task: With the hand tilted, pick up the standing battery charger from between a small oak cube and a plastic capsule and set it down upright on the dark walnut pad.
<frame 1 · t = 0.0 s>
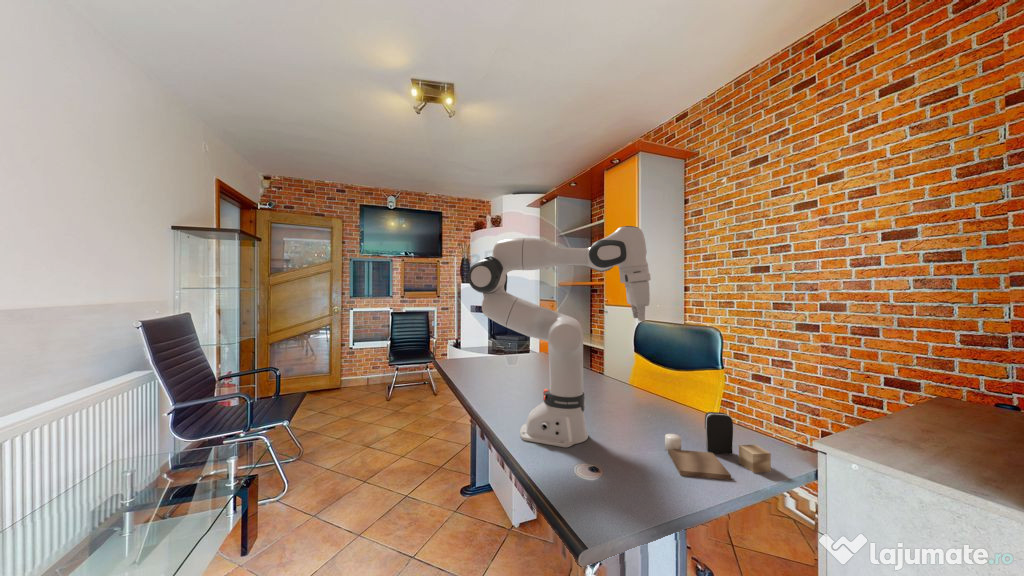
hand: (639, 319, 108), 39 cm above the table, tool pointing down, fingers open, 8 cm apart
oak cube: (754, 467, 92), on the table
plastic capsule: (673, 450, 102), on the table
battery charger: (718, 451, 101), on the table
walnut pad: (697, 465, 93), on the table
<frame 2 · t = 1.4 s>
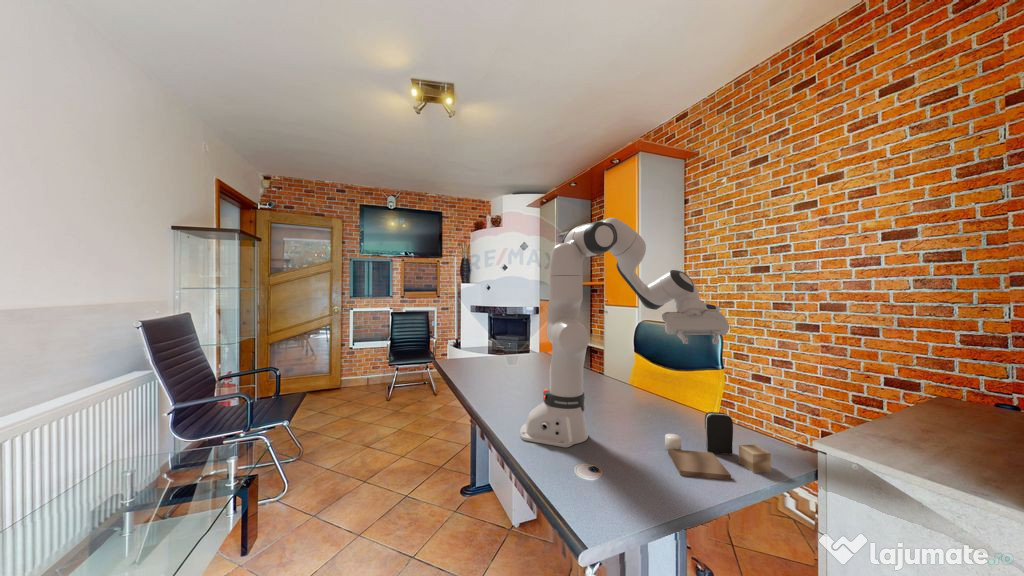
hand: (700, 342, 115), 30 cm above the table, tool tilted 45°, fingers open, 8 cm apart
nothing on the table moved.
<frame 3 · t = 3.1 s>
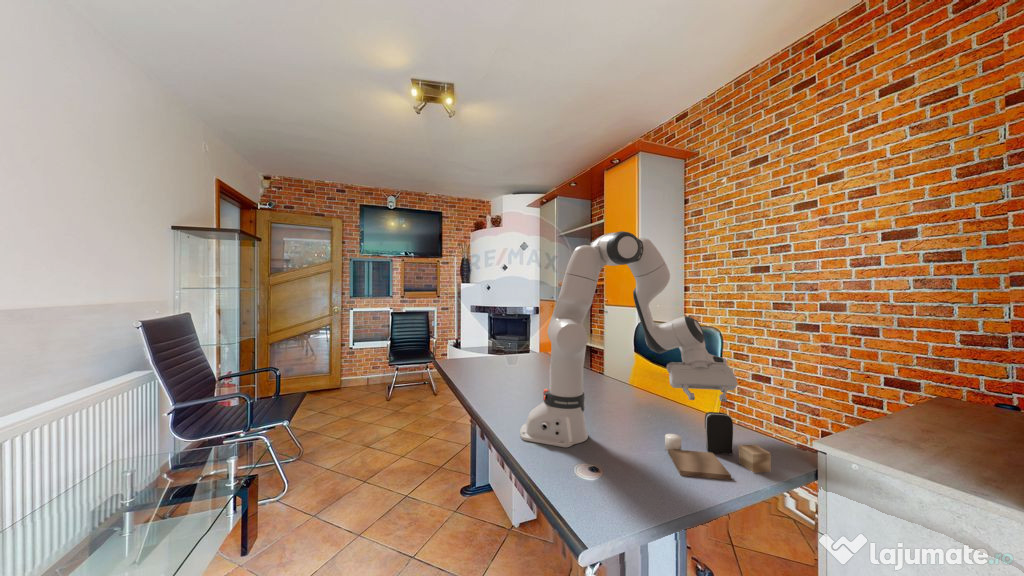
hand: (707, 400, 109), 13 cm above the table, tool tilted 45°, fingers open, 8 cm apart
nothing on the table moved.
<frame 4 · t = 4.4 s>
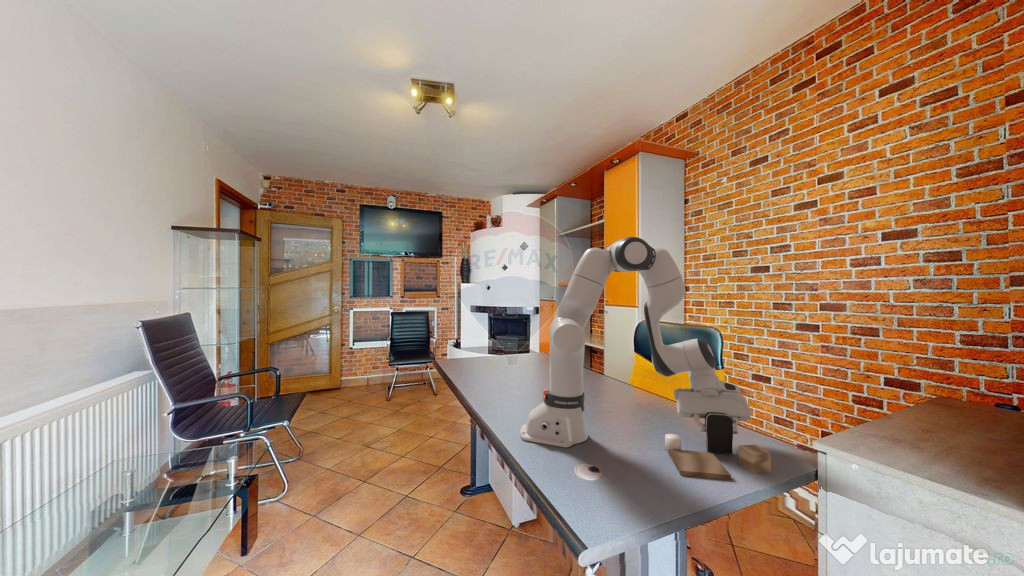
hand: (718, 432, 101), 6 cm above the table, tool tilted 45°, fingers closed on battery charger, 7 cm apart
battery charger: (718, 451, 101), on the table, touching gripper
everything else where it was.
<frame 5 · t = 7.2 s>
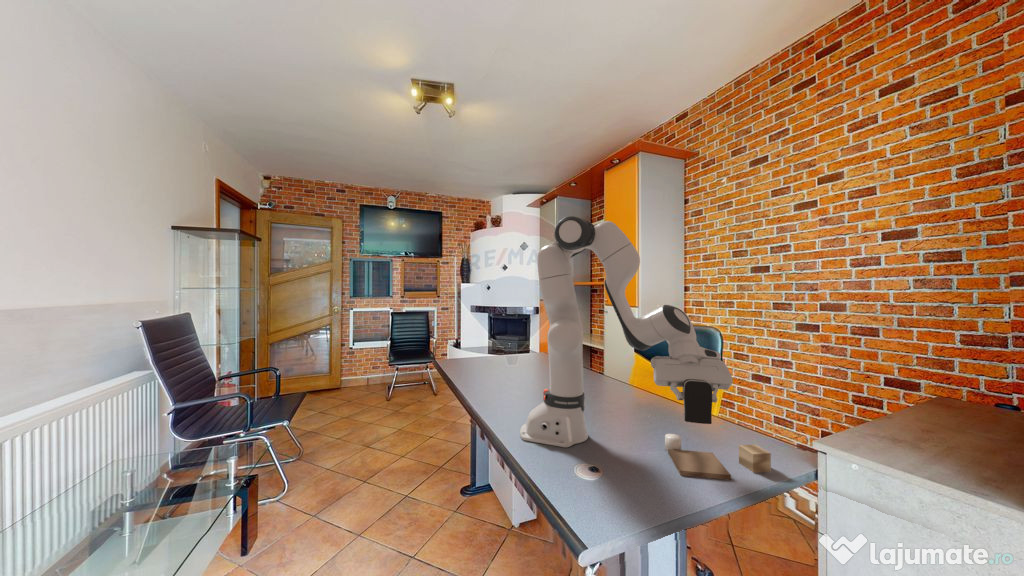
hand: (697, 400, 93), 18 cm above the table, tool tilted 45°, fingers closed on battery charger, 7 cm apart
battery charger: (696, 422, 93), point 12 cm above the table, touching gripper
everything else where it was.
when the fingers open (8 cm above the table, at t = 9.6 s): battery charger drops 1 cm, resting on walnut pad.
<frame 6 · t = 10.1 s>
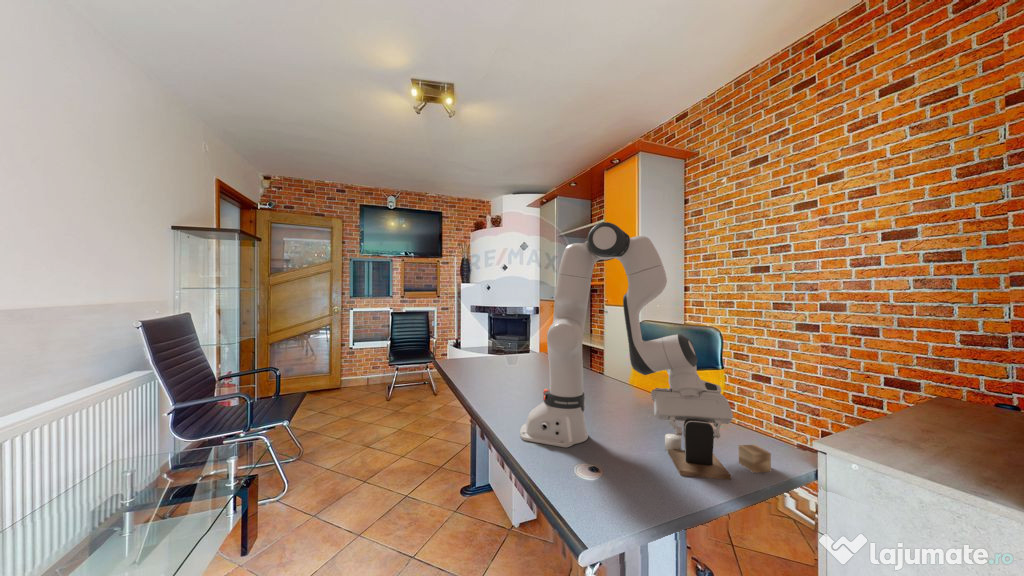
hand: (697, 436, 92), 8 cm above the table, tool tilted 45°, fingers open, 8 cm apart
battery charger: (697, 461, 93), point 1 cm above the table, touching walnut pad
everything else where it was.
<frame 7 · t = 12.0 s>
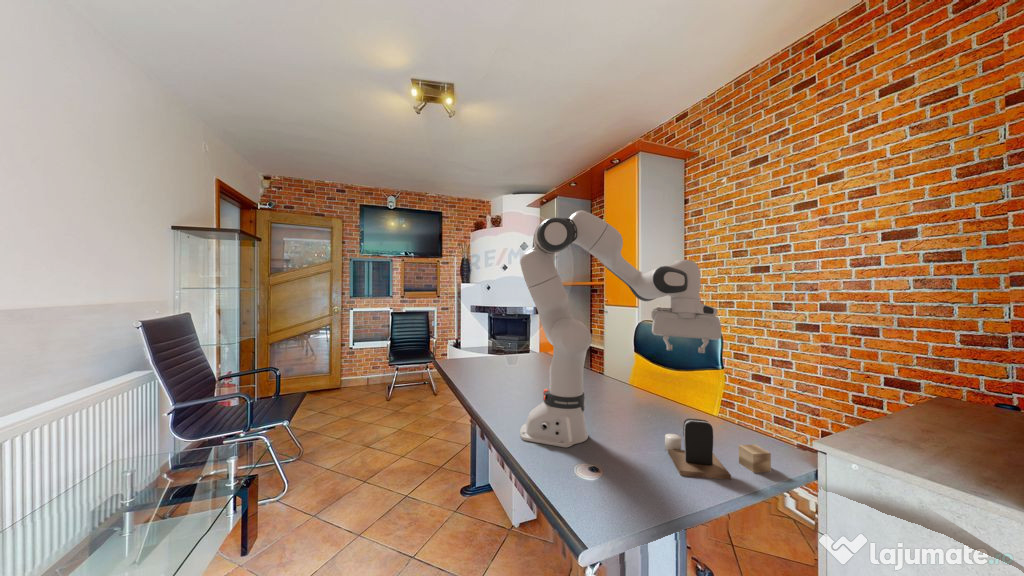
hand: (685, 351, 109), 28 cm above the table, tool pointing down, fingers open, 8 cm apart
nothing on the table moved.
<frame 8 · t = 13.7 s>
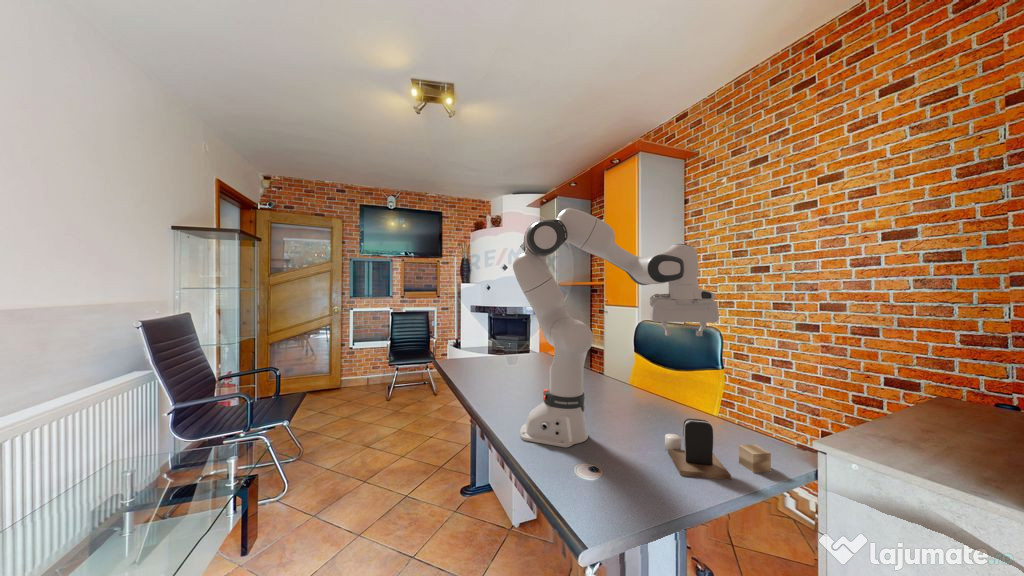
hand: (683, 335, 111), 33 cm above the table, tool pointing down, fingers open, 8 cm apart
nothing on the table moved.
at the end: battery charger inside the target area (0.2 cm from its centre), point 1.0 cm above the table; battery charger tilted 0°; the gripper is holding nothing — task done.
